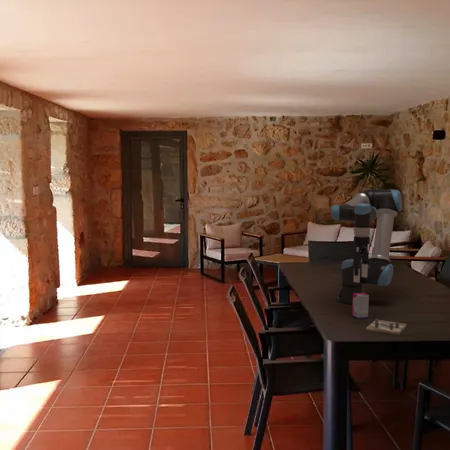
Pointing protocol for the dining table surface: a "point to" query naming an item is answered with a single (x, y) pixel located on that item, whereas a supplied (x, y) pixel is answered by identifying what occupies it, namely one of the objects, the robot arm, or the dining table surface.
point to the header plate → (386, 327)
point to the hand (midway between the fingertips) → (360, 279)
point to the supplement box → (360, 305)
